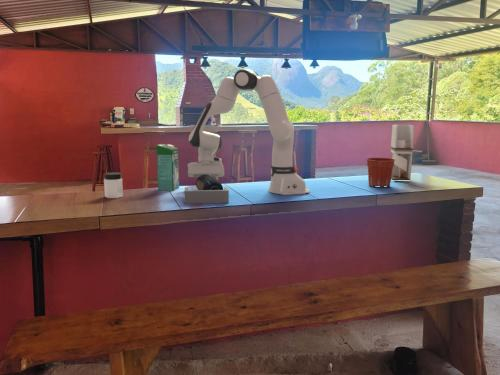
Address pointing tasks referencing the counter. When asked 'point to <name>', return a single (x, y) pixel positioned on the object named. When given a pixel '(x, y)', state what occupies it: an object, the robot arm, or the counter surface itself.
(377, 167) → the flower pot
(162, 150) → the milk carton
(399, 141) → the white two-tier box
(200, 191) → the tray
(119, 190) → the jar
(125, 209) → the counter surface
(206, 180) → the portable speaker
